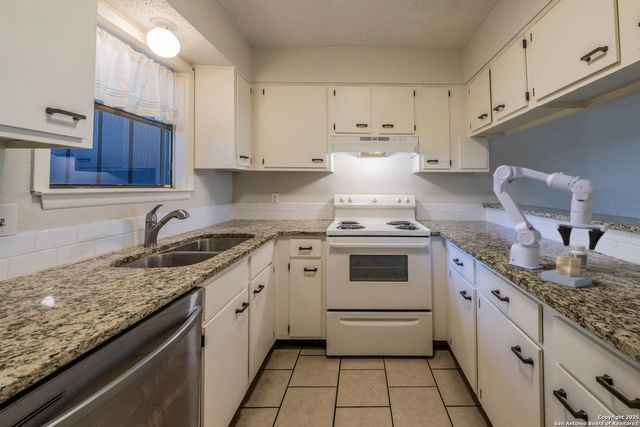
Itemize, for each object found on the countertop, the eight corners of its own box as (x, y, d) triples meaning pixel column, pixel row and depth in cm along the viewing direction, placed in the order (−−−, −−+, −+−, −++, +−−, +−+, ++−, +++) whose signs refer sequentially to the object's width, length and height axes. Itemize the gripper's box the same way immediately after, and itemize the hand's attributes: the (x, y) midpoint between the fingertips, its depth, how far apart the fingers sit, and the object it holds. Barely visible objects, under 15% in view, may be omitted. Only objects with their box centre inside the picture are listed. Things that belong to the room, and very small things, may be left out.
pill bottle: (587, 269, 109) (589, 246, 108) (583, 272, 106) (585, 247, 105) (570, 266, 114) (571, 243, 113) (565, 268, 111) (567, 245, 110)
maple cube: (555, 272, 97) (557, 256, 97) (565, 272, 98) (566, 255, 98) (569, 276, 93) (571, 259, 92) (579, 275, 94) (581, 258, 93)
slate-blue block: (540, 279, 99) (541, 271, 99) (557, 276, 103) (558, 268, 102) (574, 289, 90) (575, 280, 89) (591, 285, 93) (592, 276, 93)
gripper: (613, 212, 96) (610, 250, 97) (564, 210, 109) (562, 243, 110) (602, 213, 93) (599, 252, 94) (553, 210, 107) (551, 245, 108)
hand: (578, 247), depth 102 cm, fingers open, 7 cm apart
